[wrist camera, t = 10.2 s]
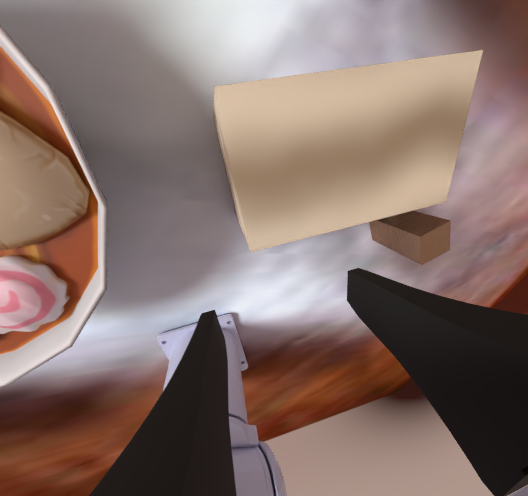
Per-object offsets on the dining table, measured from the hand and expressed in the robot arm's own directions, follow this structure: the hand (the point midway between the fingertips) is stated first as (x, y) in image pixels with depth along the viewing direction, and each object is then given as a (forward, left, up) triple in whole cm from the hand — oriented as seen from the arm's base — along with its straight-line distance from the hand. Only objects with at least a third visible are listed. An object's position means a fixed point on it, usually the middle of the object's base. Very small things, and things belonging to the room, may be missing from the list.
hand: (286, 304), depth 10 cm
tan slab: (+6, -6, -10) cm, 13 cm away
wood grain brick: (+2, -13, -10) cm, 17 cm away
